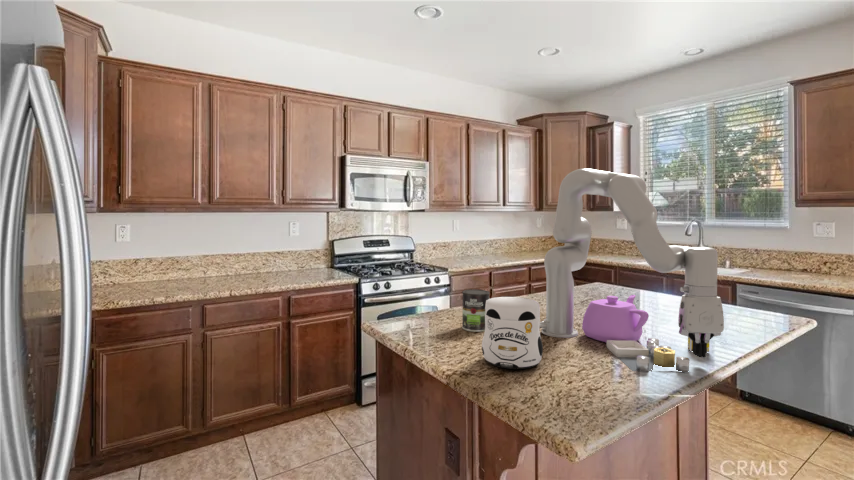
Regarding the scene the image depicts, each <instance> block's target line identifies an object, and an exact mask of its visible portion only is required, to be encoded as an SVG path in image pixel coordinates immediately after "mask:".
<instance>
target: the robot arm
mask: <svg viewBox="0 0 854 480" xmlns="http://www.w3.org/2000/svg"><path fill="white" fill-rule="evenodd" d="M646 193H647V184H646V182H645V180H644V179H643V178H641V177H640V176H638V175H635V174H628V173H619V172H618V173H617V172H611V171H606V170H601V169H600V170H599V169H594V168H584V167H583V168H578V169H575V170H573V171H570V172H569V173H567V174H566V176H564V178H562V180H561V183H560V185H559V190H558V198H557V205H556V209H555V217H554V222H553V227H552V236H553V238H554V239H555V241H556V242H558V243H561V244H564V245H562V246H561V245H559V246H554V247H552V248H550V249H549V250H547V252H546V253H545V256H544V261H543V262H544V263H543V265H544V271H545V278H546V281H545V282H546V283H545V284H546V294H545V295H546V298H545V299H546V300H545V302H546V303H545V305H546V306H545V318H544V319H543V320H540V329H541V333H542V334H543V335H545V336H548V337H554V338H561V339H563V338H564V339H566V338H567V339H568V338H575V337H577V336H578V335H579V331H578V330H577V329H576V328H574V322H575V321H574V320H575V317H574V315H575V281H574V277H573V273H572V272H575V271H578V270H579V271H580V270H581V269H582V268H584V266H585V265H586V263H587V260H588V257H589V256H588V255H589V252H590V251H589V250H590V244H591V241H592V240H591V239H592V232H593V231H592V225H591V224H590V222H589V220H588V219H587V218H585V217H583V216H582V214H583V208H584V203H583V202H584V201H583V196H584V195H590V196H591V195H592V196H593V195H594V196H602V197H606V198H607V197H608V198H611V199H612V201H613V202H614V204H615V205H616V206H617V208H618V210H619V211H620V212H621V214H622V215H623V217H624V219H625V220H626V221H627V223H628V224H629V227H630V231H631V232H630V233H631V234H632V235H631V236H632V237H633V240H634V244H635V246H636V247H637V249H638V251H639V253H640V254H641V255H642V257H643V259H644V260H645V261H646V263H647V264H648V265H649V267H650V268H652V269H653V270H655V271H656V272H658V273H661V274H667V273H672V272H677V271H683V270H684V285H683V287H682V286H681V287H679V291H680V292H681V293H683V294H682V295H681V299H680V304H679V311H678V327H679V330H678V334H679V335H682V336H684V337H687V338H688V337H689V338H690V339H691V340H692V341H693V343H692V351H693V353H692V354H693V355H695V356H696V357H698V358H706V356H707V354H706V353H707V343H709V344H710V340H711V339H712V338H715V337H719V336H722V333H723V332H724V329H725V322H724V321H725V320H724V317H725V316H724V309H723V303H722V299H721V297H720V296H718V262H719V261H718V259H719V257H718V256H719V255H718V250H717V249H716V248H715V247H708V246H692V247H691V246H683V245H676V244H673V245H670V244H668V243H667V241H666V239H665V238H664V237H663V235H662V234H661V232H660V229H659V228H658V225H657V219H658V211H657V210H658V209H656V207H655V206H654V204H653V203H652V202H651V200H650V199H649V198H648V196H647V194H646ZM699 333H700V335H699Z"/></svg>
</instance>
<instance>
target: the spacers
mask: <svg viewBox="0 0 854 480" xmlns="http://www.w3.org/2000/svg"><path fill="white" fill-rule="evenodd" d="M646 348H647V349H648V350H649V354H651V359H654V349H655V348H668V349H671V350H672V347H671V346H668V345H660V340H659V339H658V338H655V337H648V339H647V340H646ZM675 362H676V370H678V371H682V372H688V371H689V372H690V358H689V357H686V356H675ZM636 369H637V370H638V371H637V372H643V373H648V371H649V357H646V356H637V364H636ZM682 372H681V373H682Z"/></svg>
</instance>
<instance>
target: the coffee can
mask: <svg viewBox="0 0 854 480" xmlns="http://www.w3.org/2000/svg"><path fill="white" fill-rule="evenodd" d="M461 293H462V317H461V318H462V320H461V322H462V325H461V326H462V327H461V328H462V329H463V330H464V331H466V332H472V333H473V332H475V333H483V332H485V305H486V300H488V299H490V293H491V292H490V291H489V290H485V289H465V290H463V291H462V292H461Z"/></svg>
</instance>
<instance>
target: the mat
mask: <svg viewBox="0 0 854 480" xmlns="http://www.w3.org/2000/svg"><path fill="white" fill-rule="evenodd" d="M614 356H615V357H617V356H616V355H614ZM617 359H619V360H620V361H621V362H622V363H623V364H624V365H625V366H626V367H628V368H629V370H631V371H632V372H639V371H638V370H637V369H636V364H637V357H617ZM653 365H654V359H651V354H649V371H651V372H652V370H653ZM651 369H652V370H651ZM649 371H648V372H649ZM648 372H647V373H648Z"/></svg>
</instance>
